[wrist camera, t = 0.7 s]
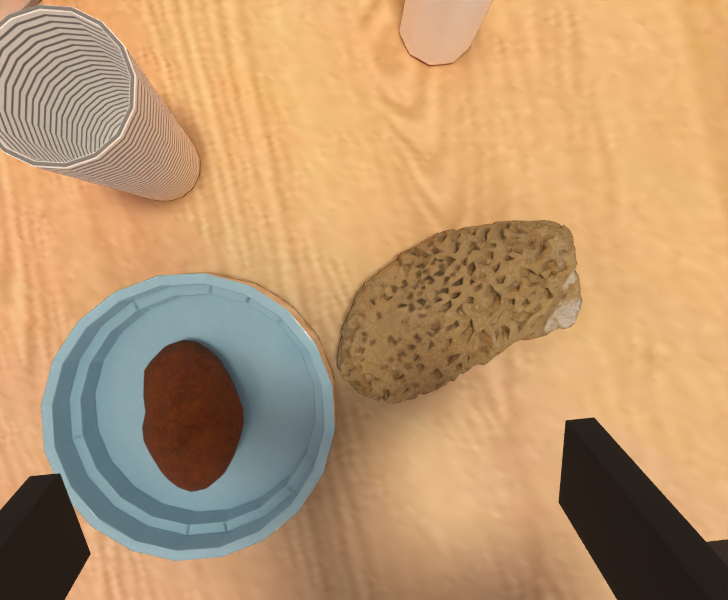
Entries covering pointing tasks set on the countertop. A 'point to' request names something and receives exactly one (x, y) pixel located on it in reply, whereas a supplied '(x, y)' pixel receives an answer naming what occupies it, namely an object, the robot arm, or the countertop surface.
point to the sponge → (458, 306)
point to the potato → (190, 415)
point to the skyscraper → (15, 6)
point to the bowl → (126, 415)
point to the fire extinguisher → (441, 28)
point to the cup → (87, 107)
